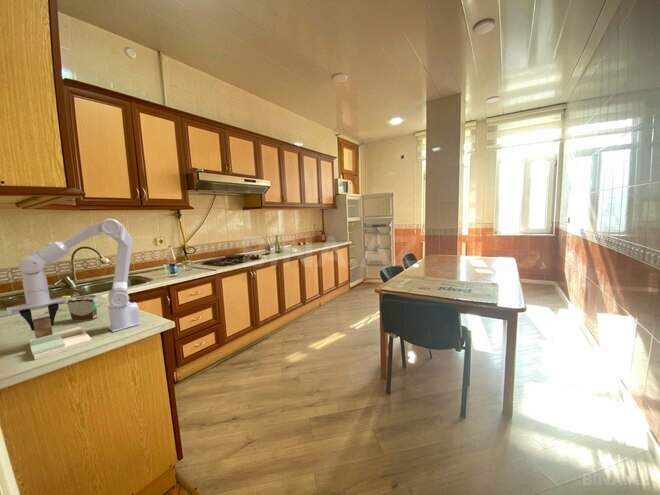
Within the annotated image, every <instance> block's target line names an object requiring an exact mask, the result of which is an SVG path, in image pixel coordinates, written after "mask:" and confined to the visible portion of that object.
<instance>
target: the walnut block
mask: <svg viewBox="0 0 660 495" xmlns="http://www.w3.org/2000/svg"><path fill="white" fill-rule="evenodd" d="M32 321H33V325H34V329H35V330H33V332H34V338H36V339H37V338H41V337H45V336H49V335H53V334H54V333H53V329H52V327H53V326H51V321H50V316H49V315H48V316H43V317H38V318H34V319H32Z"/></svg>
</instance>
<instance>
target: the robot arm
mask: <svg viewBox="0 0 660 495" xmlns="http://www.w3.org/2000/svg"><path fill="white" fill-rule="evenodd" d="M102 233H103V234H105V235H106V236H109V237H111V238H112V239H113V240H114V241H115V242H117V250H116V256H115V257H116V259H115V266H114V274H113V279H112V280H113V282H112V286H111V289H110V291H109V292H108V296H107V298H108V303H109V305H108V307H107V309H108V315H109V323H110V325H108V326H107V328H108V329H109V330H110V331H111V332H114V333H115V332H118V331H121V330H125V329H127V328H131V327H135V326H139V325H141V324H142V322H141V316H140V310H139V306H138V303H137V302H131V301H130V296H129V294H128V281H129V272H130V265H131V256H132V248H133V242H134V241H133V238H132V236H131V235H130V234H129V232H128V231H127V229H126V227H125V225H124V224H123V223H121V222H119V221H118V220H116V219H114V218H106V219H103V220H102V221H101V222H99V221H98V222H96V223H94V224H91V225H88V226H87V227H85V228H83V229H81V230H80V231H78V232H77V233H75V234H73V235H72V236H70V237H69V238H67V239H65V240H63V241H53V242H50V241H49V242H48V243H46V244H45V246H44V247H42V248H41V249H39V250H37V251H32V252H30V256H25V257H23V258H22V259H21V260H20V261H19V262H18V264H17V267H18V270H19V271H20V272H21V277H22V279H21V283H22V286H23V291H24V298H25V303H23V304H18V305H14V306H8V307H6V314H7V315H12V314H15V313H19V315H20V316H21V317H22V318H23V319H24V320H25V321H26V323H28V325H29V327H30V330H31V331H32V332H34V330H35V329H34V325H33V315H32V311H31V310H35V309H41V308H45V307H47V311H48V316H49V317H50V321H51V327H53V326H55V318H56V315H57V313H58V310H59V308H60V306H59V305H60V304H61V305H62V304H66V303H68V299H69V297H67V296H64V297H57V298H51V297H50V291H49V284H48V278H47V275H46V271H45V268H46V266H50V265H53V264H54V263H55V262H58V261H59V260H60V259H62V258H64V257H66V256H67V255H68V254H70V249H71V248H73V247H75V246H77V245H78V244H80V243H82V242H84V241H86V240H87V239H89V238H91V237H95V236H101V235H102Z"/></svg>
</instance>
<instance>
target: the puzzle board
mask: <svg viewBox="0 0 660 495" xmlns="http://www.w3.org/2000/svg"><path fill="white" fill-rule="evenodd" d="M55 334H59V338H62V339H63V341H64V342H65V346H62V347H58V348H55V349H52V350H48V351H45V352H41V353H38V354H34V355H33V354H32V356H33V359H34V361H37V360H39V359H43V358H46V357H49V356H53V355H56V354H59V353H64V352H65V351H70V350H74V349H77V348H79V347H83V346H86V345H90V344H92V343H93V339H92V337H91V336H90V335H89V333H87V331H86V330H84V328H82V327H81V326H78V327H73V328H70V329H65V330H62V331H57V332H54V333H53V335H55ZM49 336H51V335H49ZM45 337H47V336H45ZM41 338H43V337H41ZM35 339H36V337H34V338H31V339H28V342H29V347H30V346H33V345H32V340H35ZM37 339H39V338H37Z"/></svg>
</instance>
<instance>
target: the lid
mask: <svg viewBox="0 0 660 495" xmlns="http://www.w3.org/2000/svg"><path fill="white" fill-rule="evenodd" d="M63 339H64V338H59V334H55V335H51V336H47V337H43V338H39V339H35V340H32V345H33V346H30V345H29V347H30V351H31V354H32V356H33V355H34V354H38V353H41V352H45V351H48V350H52V349H55V348H58V347H62V346H65V342H64V341H63Z"/></svg>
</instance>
